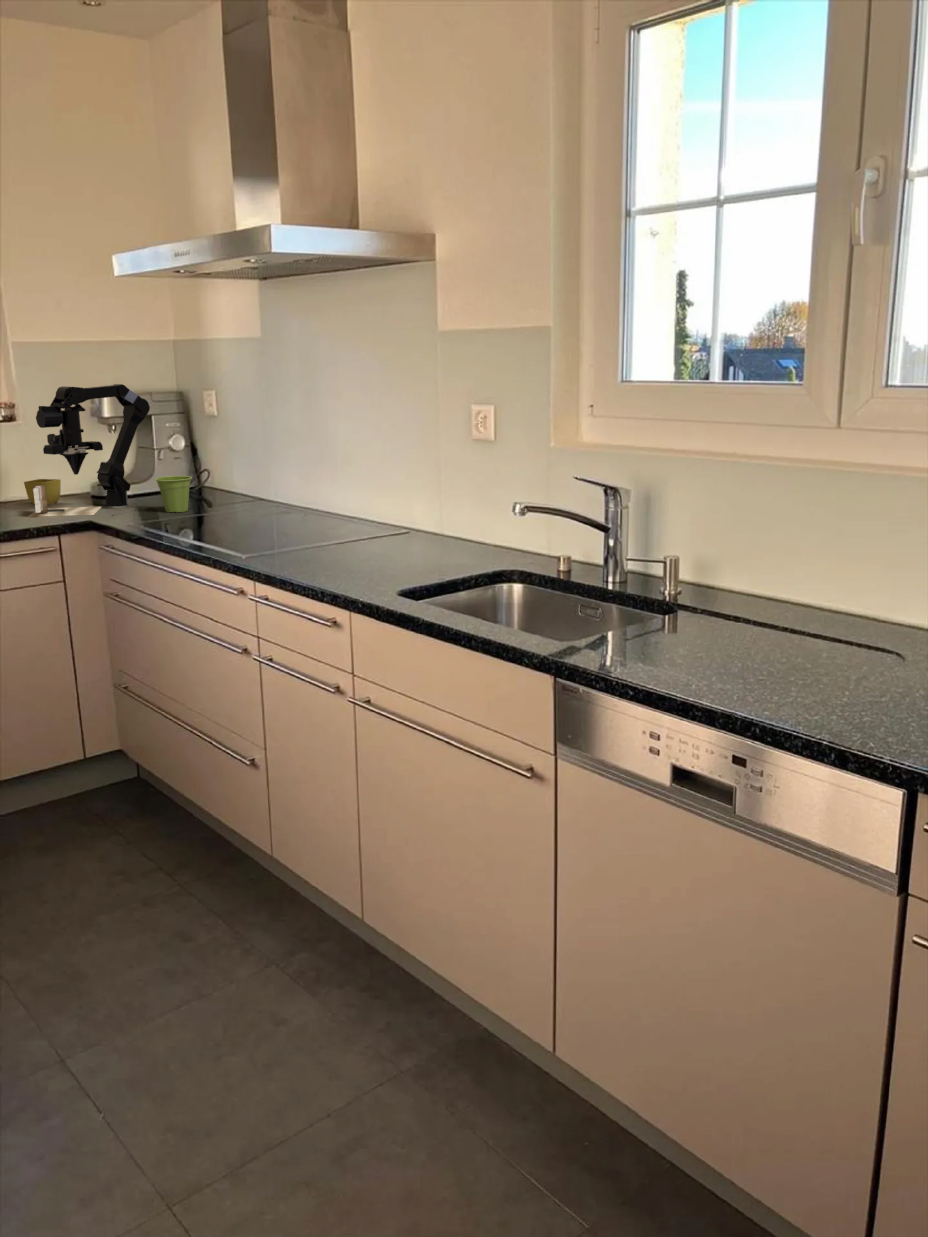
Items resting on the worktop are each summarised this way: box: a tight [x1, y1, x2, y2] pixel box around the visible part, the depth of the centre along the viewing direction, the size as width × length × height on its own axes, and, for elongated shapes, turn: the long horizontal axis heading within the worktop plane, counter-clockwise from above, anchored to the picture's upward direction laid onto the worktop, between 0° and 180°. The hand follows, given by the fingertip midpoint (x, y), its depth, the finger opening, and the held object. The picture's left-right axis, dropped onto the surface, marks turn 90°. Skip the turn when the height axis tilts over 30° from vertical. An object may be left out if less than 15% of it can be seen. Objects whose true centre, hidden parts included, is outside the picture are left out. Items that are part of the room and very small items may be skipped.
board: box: [27, 506, 102, 518], centre depth 334 cm, size 20×18×1 cm
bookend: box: [33, 485, 65, 513], centre depth 326 cm, size 10×9×9 cm
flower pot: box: [23, 478, 62, 505], centre depth 352 cm, size 9×9×9 cm
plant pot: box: [155, 475, 193, 513], centre depth 339 cm, size 12×12×11 cm
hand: (76, 474), depth 333 cm, fingers closed
